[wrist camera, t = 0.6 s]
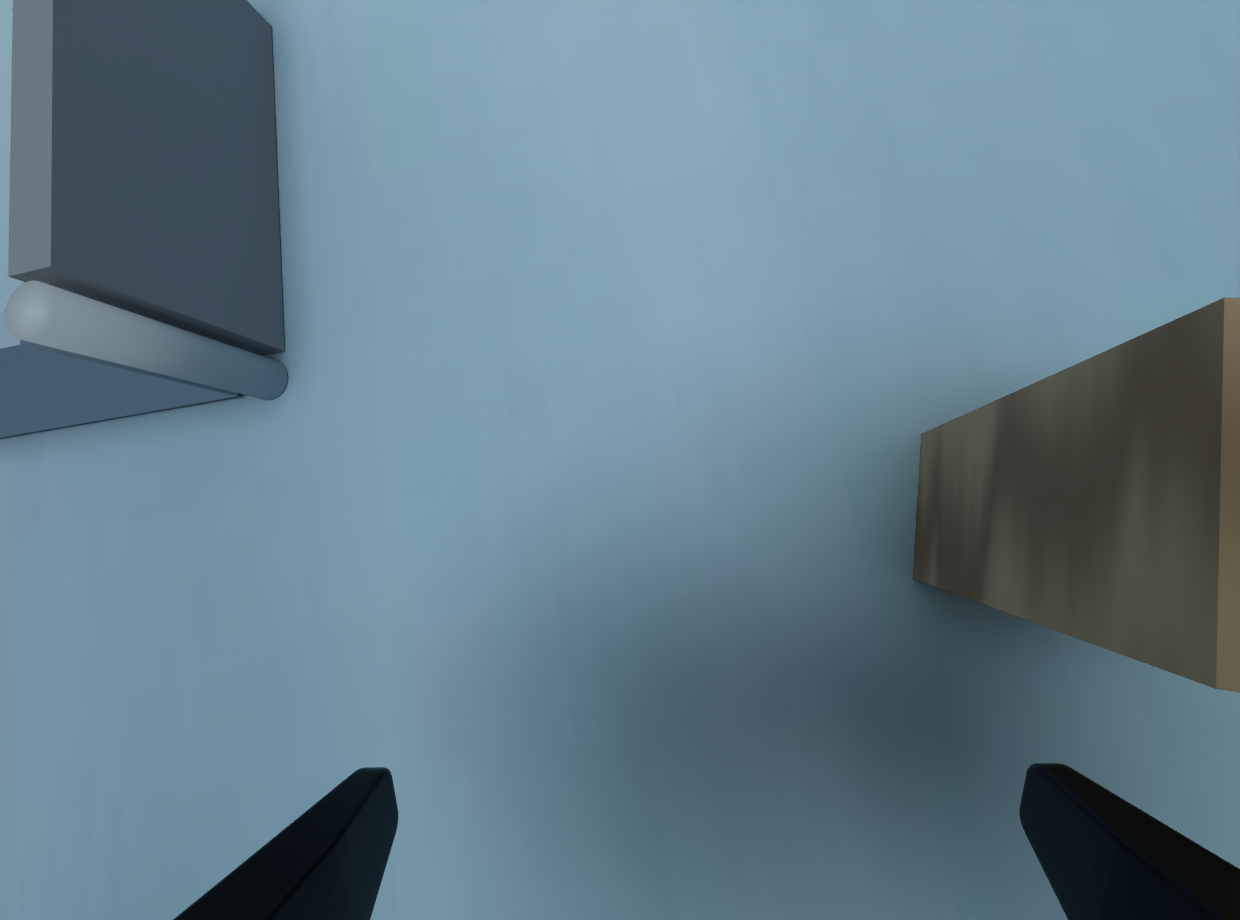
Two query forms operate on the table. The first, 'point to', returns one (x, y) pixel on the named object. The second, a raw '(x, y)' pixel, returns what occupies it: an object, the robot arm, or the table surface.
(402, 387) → the table surface
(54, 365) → the door
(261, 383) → the wall
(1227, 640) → the block
